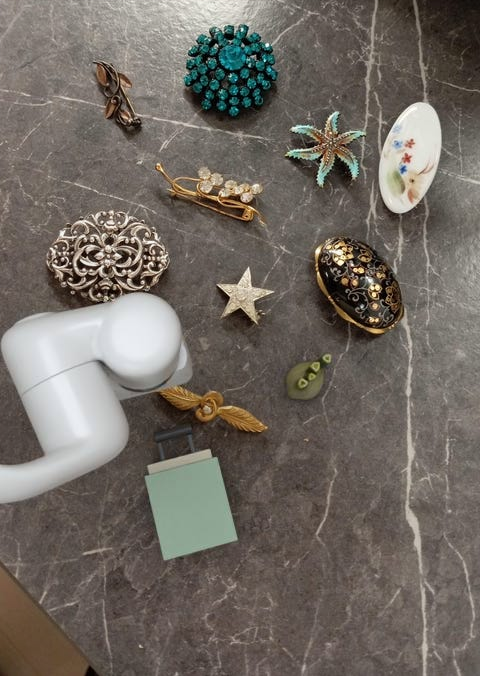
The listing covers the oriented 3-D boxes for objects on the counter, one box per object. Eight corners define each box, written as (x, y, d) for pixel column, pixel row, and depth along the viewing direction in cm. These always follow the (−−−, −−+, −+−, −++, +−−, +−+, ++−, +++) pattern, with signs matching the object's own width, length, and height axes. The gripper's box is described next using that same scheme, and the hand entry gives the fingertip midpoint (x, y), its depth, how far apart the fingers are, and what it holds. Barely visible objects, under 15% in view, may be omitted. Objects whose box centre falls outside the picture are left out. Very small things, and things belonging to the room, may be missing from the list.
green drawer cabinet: (147, 476, 121) (144, 476, 112) (215, 458, 122) (217, 456, 114) (165, 555, 118) (163, 560, 110) (234, 536, 119) (238, 540, 111)
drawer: (142, 437, 121) (140, 434, 115) (201, 421, 122) (202, 418, 115) (165, 537, 118) (164, 540, 112) (226, 520, 119) (228, 523, 112)
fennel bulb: (316, 359, 126) (330, 347, 114) (328, 393, 125) (343, 384, 113) (277, 372, 125) (287, 361, 114) (288, 406, 124) (299, 398, 112)
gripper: (73, 410, 86) (88, 424, 104) (224, 371, 89) (213, 391, 106) (57, 334, 88) (74, 361, 106) (205, 298, 90) (197, 330, 108)
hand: (144, 376), depth 106 cm, fingers closed
